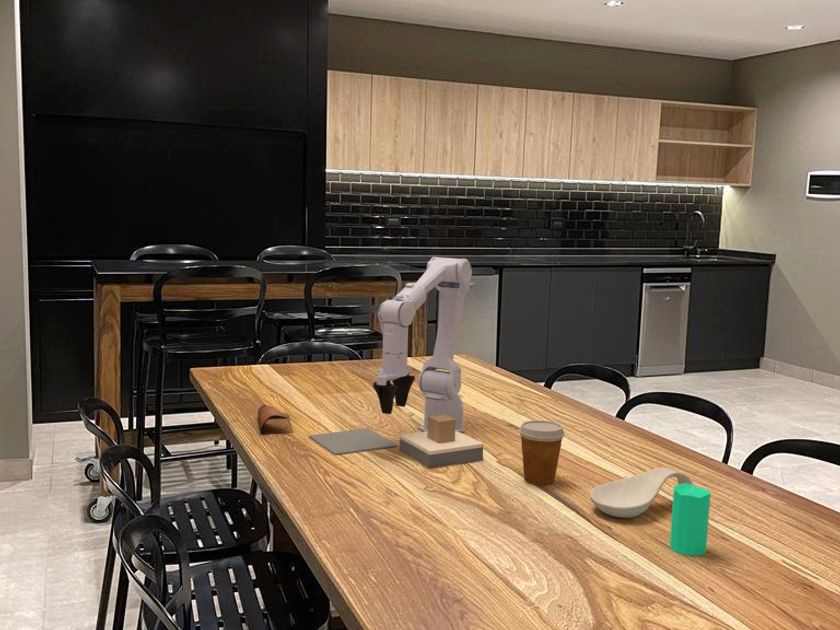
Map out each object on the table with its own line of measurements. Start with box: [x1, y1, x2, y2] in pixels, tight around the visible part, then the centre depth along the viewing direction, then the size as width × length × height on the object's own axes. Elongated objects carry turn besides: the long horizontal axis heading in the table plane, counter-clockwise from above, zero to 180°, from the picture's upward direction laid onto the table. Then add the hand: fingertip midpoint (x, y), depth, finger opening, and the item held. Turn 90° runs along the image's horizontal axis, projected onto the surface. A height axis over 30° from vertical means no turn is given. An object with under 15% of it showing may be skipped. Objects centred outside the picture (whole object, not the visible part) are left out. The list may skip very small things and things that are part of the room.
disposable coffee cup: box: [518, 420, 566, 487], centre depth 175 cm, size 10×10×12 cm
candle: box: [669, 480, 711, 557], centre depth 142 cm, size 6×6×12 cm
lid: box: [399, 415, 484, 455], centre depth 191 cm, size 14×14×6 cm
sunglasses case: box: [257, 404, 294, 436], centre depth 213 cm, size 18×7×7 cm
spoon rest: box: [589, 467, 693, 519], centre depth 162 cm, size 24×12×7 cm, turn 119°
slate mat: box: [308, 427, 398, 456], centre depth 200 cm, size 16×16×1 cm
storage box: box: [399, 438, 484, 469], centre depth 191 cm, size 14×14×3 cm
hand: (393, 409), depth 193 cm, fingers open, 7 cm apart
